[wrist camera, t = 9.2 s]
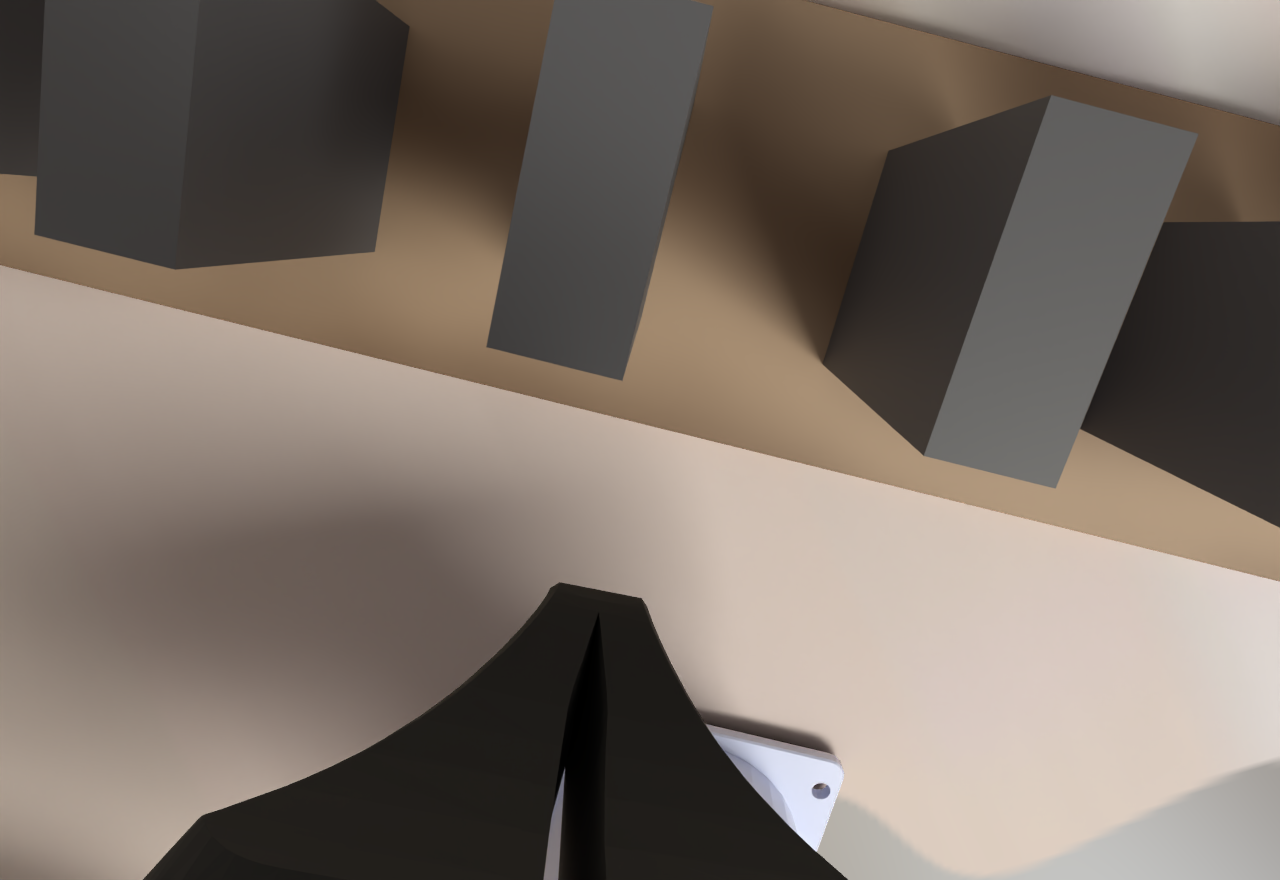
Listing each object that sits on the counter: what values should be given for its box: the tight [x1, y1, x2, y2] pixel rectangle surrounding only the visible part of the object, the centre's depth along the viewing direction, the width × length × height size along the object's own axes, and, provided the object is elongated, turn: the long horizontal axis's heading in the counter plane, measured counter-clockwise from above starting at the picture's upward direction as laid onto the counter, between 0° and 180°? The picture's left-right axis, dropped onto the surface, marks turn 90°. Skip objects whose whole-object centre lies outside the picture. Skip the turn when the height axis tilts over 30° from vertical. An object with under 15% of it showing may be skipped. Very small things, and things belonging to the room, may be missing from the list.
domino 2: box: [486, 0, 714, 381], centre depth 15 cm, size 2×5×8 cm, turn 166°
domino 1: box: [34, 0, 410, 270], centre depth 15 cm, size 2×5×8 cm, turn 166°
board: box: [0, 0, 1280, 581], centre depth 19 cm, size 10×38×1 cm, turn 76°
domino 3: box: [823, 95, 1198, 489], centre depth 15 cm, size 2×5×8 cm, turn 166°
